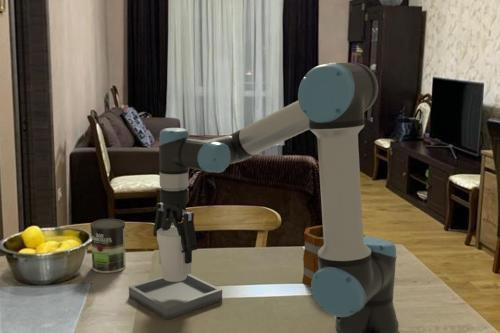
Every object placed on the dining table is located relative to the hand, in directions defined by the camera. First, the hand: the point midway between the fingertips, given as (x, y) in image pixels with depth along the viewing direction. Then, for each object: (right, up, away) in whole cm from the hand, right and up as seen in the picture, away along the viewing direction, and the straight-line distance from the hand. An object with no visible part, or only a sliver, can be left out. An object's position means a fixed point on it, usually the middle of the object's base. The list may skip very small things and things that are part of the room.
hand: (174, 268), depth 160 cm
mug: (+45, -6, +16) cm, 48 cm away
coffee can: (-23, -4, +23) cm, 33 cm away
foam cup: (0, -3, +1) cm, 3 cm away
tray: (0, -8, +2) cm, 9 cm away
